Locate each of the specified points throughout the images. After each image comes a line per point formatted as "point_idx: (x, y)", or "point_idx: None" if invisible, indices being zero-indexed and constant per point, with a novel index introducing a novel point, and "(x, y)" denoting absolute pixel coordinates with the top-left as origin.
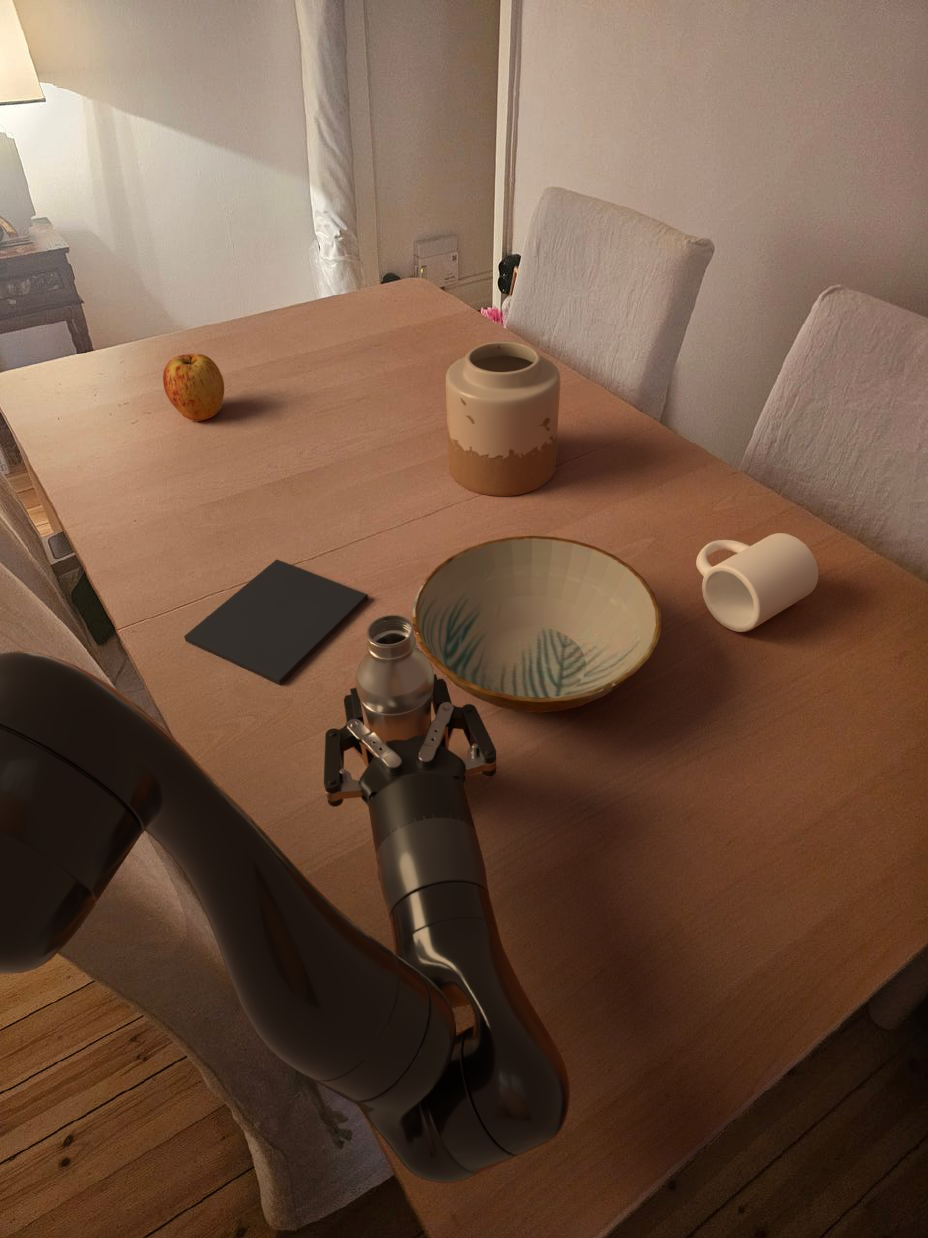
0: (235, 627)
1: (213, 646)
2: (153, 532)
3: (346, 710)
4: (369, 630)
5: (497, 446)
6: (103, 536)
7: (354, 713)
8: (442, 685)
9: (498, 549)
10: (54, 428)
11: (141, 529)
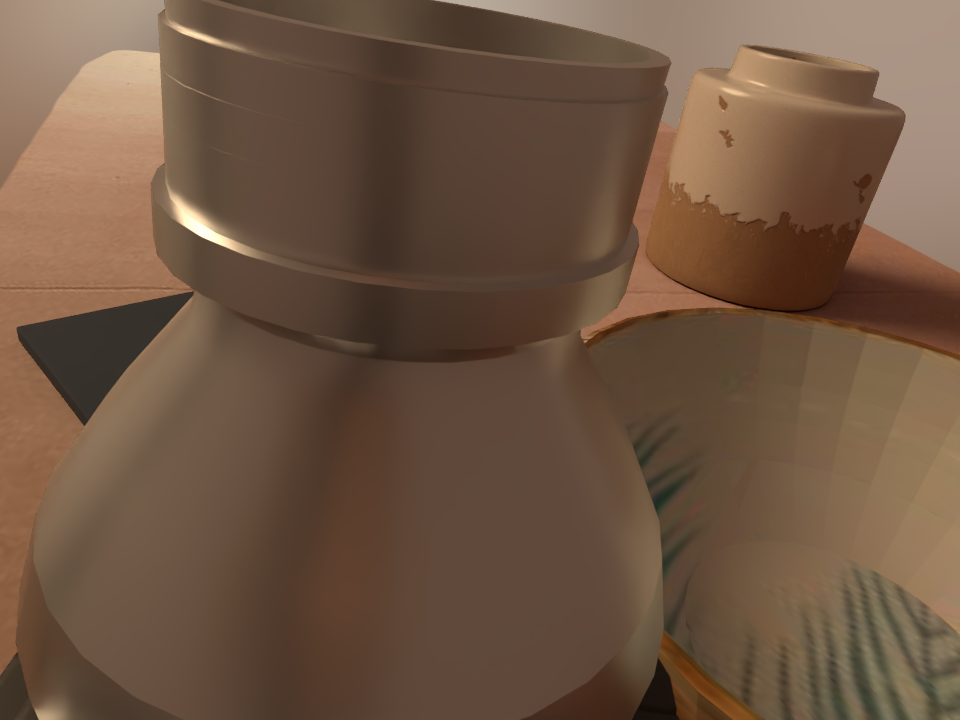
0: (132, 343)
1: (54, 361)
2: (130, 194)
3: (16, 664)
4: (241, 3)
5: (762, 200)
6: (51, 178)
7: (20, 712)
8: (649, 692)
9: (778, 335)
10: (113, 87)
11: (116, 187)
